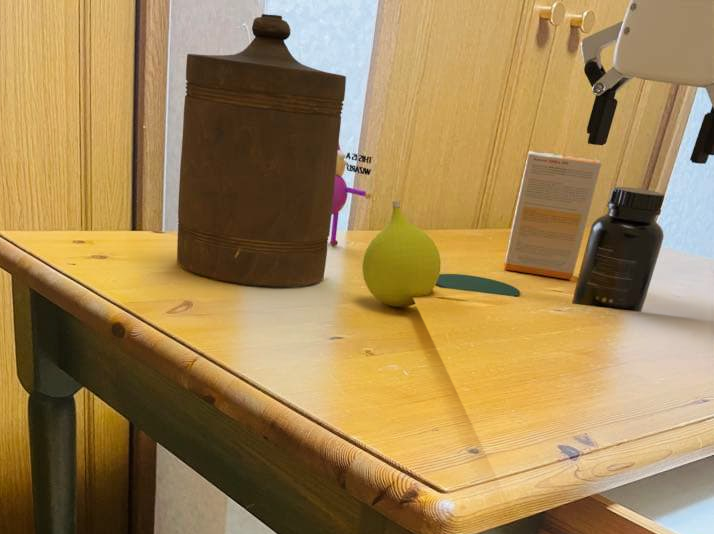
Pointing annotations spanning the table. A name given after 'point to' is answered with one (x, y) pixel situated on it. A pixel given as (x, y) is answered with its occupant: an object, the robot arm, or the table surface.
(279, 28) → the wooden container
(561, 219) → the supplement box
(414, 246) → the yellow-green fig
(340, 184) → the wizard figurine
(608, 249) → the supplement bottle
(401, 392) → the table surface
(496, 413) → the table surface
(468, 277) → the dark green coaster
